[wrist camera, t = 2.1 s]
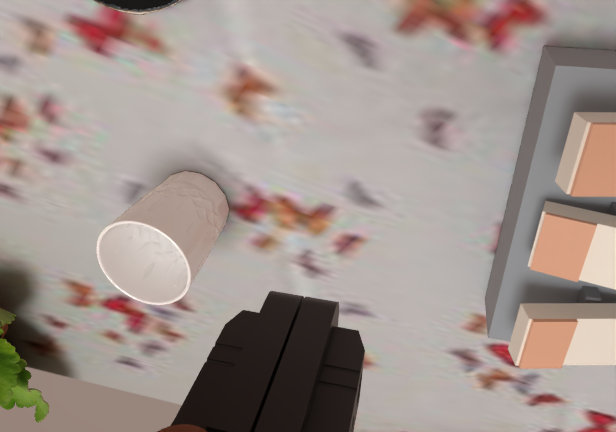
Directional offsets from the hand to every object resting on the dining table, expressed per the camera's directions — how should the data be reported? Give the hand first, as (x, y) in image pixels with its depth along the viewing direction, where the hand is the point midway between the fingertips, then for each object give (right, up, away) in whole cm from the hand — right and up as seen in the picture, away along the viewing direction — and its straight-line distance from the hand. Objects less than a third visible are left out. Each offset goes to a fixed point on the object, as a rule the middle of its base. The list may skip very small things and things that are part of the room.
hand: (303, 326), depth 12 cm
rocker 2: (+20, 0, +22) cm, 30 cm away
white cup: (-10, +4, +38) cm, 39 cm away
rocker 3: (+20, -6, +26) cm, 33 cm away
